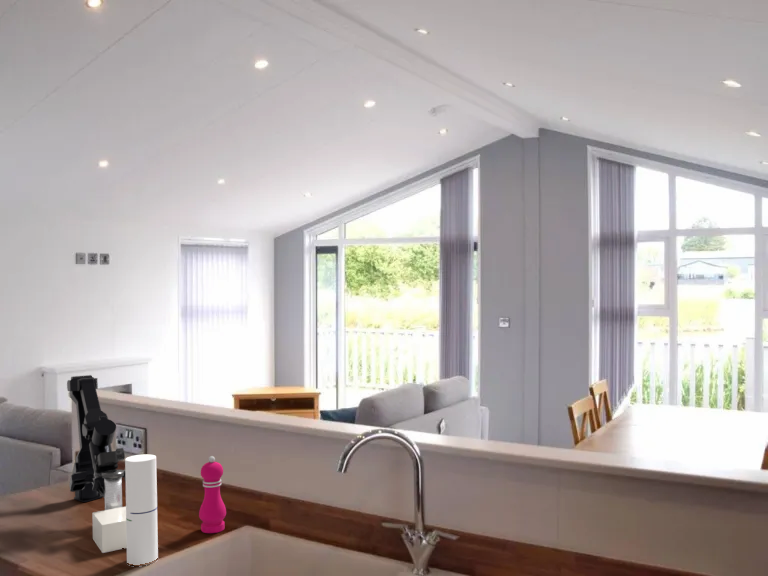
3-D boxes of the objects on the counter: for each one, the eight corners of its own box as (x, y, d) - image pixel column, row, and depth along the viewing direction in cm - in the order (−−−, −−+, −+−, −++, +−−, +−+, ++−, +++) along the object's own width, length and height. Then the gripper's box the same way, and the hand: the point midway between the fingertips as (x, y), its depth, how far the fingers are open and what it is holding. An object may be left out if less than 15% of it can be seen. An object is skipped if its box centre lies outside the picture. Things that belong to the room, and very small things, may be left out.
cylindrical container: (148, 567, 166) (146, 462, 166) (120, 565, 168) (119, 461, 168) (163, 555, 173) (161, 454, 173) (137, 554, 175) (135, 453, 175)
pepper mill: (222, 534, 188) (221, 459, 188) (195, 534, 188) (194, 459, 188) (229, 524, 195) (228, 453, 195) (203, 525, 195) (202, 453, 195)
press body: (92, 538, 186) (92, 512, 186) (139, 529, 192) (139, 504, 192) (102, 553, 176) (102, 525, 176) (151, 542, 182) (150, 515, 182)
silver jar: (100, 528, 192) (99, 471, 192) (122, 524, 196) (121, 468, 195) (113, 545, 180) (112, 484, 180) (135, 540, 183) (134, 480, 183)
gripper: (70, 444, 193) (78, 493, 184) (140, 435, 203) (151, 481, 194) (66, 466, 200) (73, 516, 190) (133, 457, 210) (144, 503, 201)
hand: (111, 503), depth 194 cm, fingers closed, pressing on silver jar
